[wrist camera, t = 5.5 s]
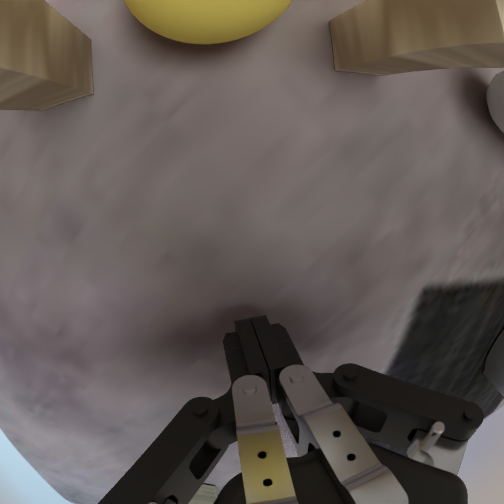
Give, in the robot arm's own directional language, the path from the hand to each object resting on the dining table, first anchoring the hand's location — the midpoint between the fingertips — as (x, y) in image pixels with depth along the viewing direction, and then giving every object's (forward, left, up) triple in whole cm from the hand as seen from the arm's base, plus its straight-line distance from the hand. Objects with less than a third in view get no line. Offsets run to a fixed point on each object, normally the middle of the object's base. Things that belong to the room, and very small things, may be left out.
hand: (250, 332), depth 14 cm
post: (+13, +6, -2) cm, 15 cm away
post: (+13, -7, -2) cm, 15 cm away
